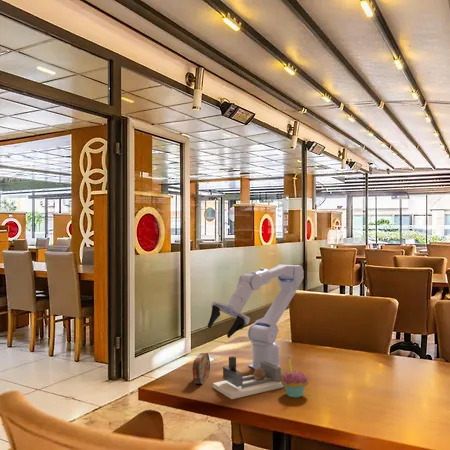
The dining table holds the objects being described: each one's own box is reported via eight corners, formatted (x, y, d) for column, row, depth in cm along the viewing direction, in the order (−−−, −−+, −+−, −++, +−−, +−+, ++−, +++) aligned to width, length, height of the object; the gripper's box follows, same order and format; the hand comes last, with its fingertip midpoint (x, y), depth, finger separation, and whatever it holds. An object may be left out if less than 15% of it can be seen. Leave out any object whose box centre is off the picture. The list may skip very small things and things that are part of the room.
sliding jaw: (228, 377, 153) (228, 353, 153) (243, 385, 146) (242, 360, 146) (222, 378, 152) (222, 354, 152) (236, 387, 144) (236, 361, 144)
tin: (200, 387, 152) (200, 362, 152) (191, 387, 153) (190, 361, 153) (210, 373, 167) (210, 350, 167) (202, 372, 168) (202, 349, 168)
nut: (261, 377, 157) (261, 365, 157) (267, 381, 153) (267, 369, 153) (251, 379, 155) (251, 367, 155) (257, 383, 151) (257, 371, 151)
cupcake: (291, 401, 139) (290, 362, 139) (275, 392, 147) (275, 355, 147) (313, 396, 143) (313, 358, 143) (297, 388, 151) (297, 351, 151)
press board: (262, 376, 162) (262, 359, 162) (283, 387, 152) (283, 369, 152) (213, 387, 152) (212, 369, 152) (231, 399, 142) (231, 379, 142)
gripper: (219, 286, 163) (199, 316, 155) (255, 303, 157) (236, 335, 150) (221, 297, 168) (201, 326, 161) (256, 313, 163) (237, 344, 155)
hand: (218, 331), depth 156 cm, fingers open, 7 cm apart
